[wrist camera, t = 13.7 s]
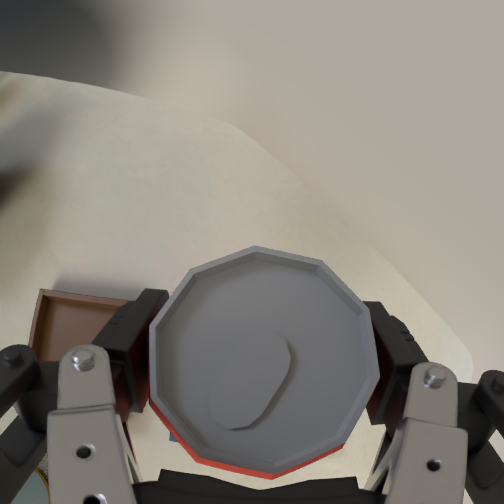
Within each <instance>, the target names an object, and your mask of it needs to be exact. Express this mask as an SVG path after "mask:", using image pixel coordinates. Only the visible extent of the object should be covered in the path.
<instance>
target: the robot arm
mask: <svg viewBox="0 0 504 504" xmlns="http://www.w3.org/2000/svg"><path fill="white" fill-rule="evenodd" d="M168 299H169V294H168V291H167V290H160V289H149V288H146V289H144V291H143V292H142V293H141V295H140V296H139V297H138V299H137V300H136V301H129V302H127V303H126V304H124V305H122V306H120V307H119V308H118V309H117V311H116V312H115V313H114V314H113V317H111V318H110V319H109V321H108V322H107V324H105V326H104V327H103V328H102V330H101V331H100V332H99V333H98V335H97V336H96V337H95V339H94V340H93V341H92V343H91V344H84V345H78V346H75V347H73V348H70V349H69V350H67V351H66V352H65V353H64V354H63V355H62V356H61V358H60V361H38V360H37V357H36V355H35V352H34V350H33V349H32V348H31V347H29V346H27V345H20V344H18V345H12V346H9V347H6V348H4V349H3V350H1V351H0V418H1V417H2V416H3V415H4V414H5V413H6V412H7V411H8V410H9V409H10V408H11V406H12V405H13V406H14V408H15V410H16V412H17V414H18V416H17V417H16V418H15V419H14V420H13V422H12V423H11V424H10V425H9V426H8V427H7V429H6V430H5V431H4V432H3V433H2V434H1V435H0V504H11V503H12V501H13V500H14V498H15V497H16V495H17V494H18V492H19V491H20V490H21V488H22V487H23V485H24V484H25V482H26V481H27V480H28V478H29V477H30V475H31V474H32V473H33V471H34V470H35V468H36V467H37V466H38V464H39V463H40V461H41V460H42V459H43V457H44V456H45V454H46V453H47V461H48V481H49V494H50V504H463V496H464V488H465V489H466V491H467V492H468V494H469V496H470V498H471V499H472V501H473V503H474V504H504V463H503V462H502V460H501V458H500V457H499V456H498V454H497V453H496V451H495V450H494V448H493V447H492V445H491V444H490V442H489V441H488V440H489V439H490V437H491V436H492V434H493V433H494V432H495V430H496V429H497V430H498V431H499V433H500V434H501V435H502V437H503V438H504V372H501V371H497V370H489V371H486V372H484V373H483V374H482V376H481V378H480V380H479V382H478V384H471V383H462V382H457V378H456V376H455V374H454V373H453V372H452V371H451V370H450V369H448V368H447V367H445V366H443V365H441V364H438V363H434V362H429V360H428V359H427V357H426V356H425V354H424V353H423V351H422V350H421V348H420V347H419V345H418V344H417V342H416V341H414V338H413V336H412V335H411V334H410V332H409V330H408V329H407V327H406V326H405V324H404V323H403V322H401V321H400V320H399V319H397V318H396V317H394V316H390V315H389V314H388V312H387V311H386V309H385V308H384V306H383V305H382V303H381V302H371V301H362V302H363V303H364V304H365V305H366V306H367V307H368V308H369V311H370V316H371V322H372V327H373V333H374V339H375V345H376V352H377V358H378V365H379V372H380V379H379V381H378V383H377V385H376V387H375V389H374V391H373V393H372V395H371V397H370V399H369V401H368V403H367V405H366V409H367V413H368V416H369V419H370V422H371V425H378V424H385V426H386V430H385V432H384V434H383V436H382V439H381V442H380V446H379V449H378V452H377V455H376V458H375V461H374V463H373V466H372V469H371V472H370V475H369V477H368V480H367V482H366V484H365V487H364V489H359V488H358V483H357V478H356V476H354V477H344V478H332V479H315V480H307V481H303V482H299V483H294V484H290V485H285V486H280V487H275V488H270V489H264V490H257V489H252V488H248V487H244V486H240V485H237V484H233V483H230V482H226V481H223V480H220V479H217V478H213V477H210V476H205V475H197V474H190V473H183V472H176V471H171V470H165V469H161V471H160V475H159V478H158V481H147V482H143V479H142V476H141V473H140V470H139V467H138V463H137V460H136V456H135V452H134V448H133V445H132V441H131V437H130V432H129V428H128V424H127V421H126V418H127V415H128V413H129V411H133V412H138V413H142V412H143V410H144V407H145V405H146V402H147V400H148V397H149V396H148V352H147V336H148V332H149V326H150V324H151V323H152V321H153V320H154V318H155V317H156V316H157V314H158V313H159V311H160V310H161V309H162V307H163V306H164V305H165V303H166V302H167V300H168Z"/></svg>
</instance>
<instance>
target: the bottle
mask: <svg viewBox="0 0 504 504" xmlns="http://www.w3.org/2000/svg"><path fill="white" fill-rule="evenodd" d="M11 504H50V494H49V486H48V483H47V482H46V480H45V478H44V477H43V475H42V474H41V473H40V472H39V471H38V469H37V468H35V470H34V471H33V473H32V474H31V475H30V477H29V478H28V480H27V481H26V482H25V484H24V485H23V487H22V488H21V490H20V491H19V492H18V494H17V495H16V497H15V498H14V500H13V501H12V503H11Z"/></svg>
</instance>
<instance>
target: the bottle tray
mask: <svg viewBox="0 0 504 504" xmlns="http://www.w3.org/2000/svg"><path fill="white" fill-rule="evenodd" d="M127 302H129V300H120V299H112V298H104V297H96V296H88V295H81V294H74V293H67V292H60V291H53V290H47V289H40V291H39V295H38V299H37V303H36V307H35V312H34V317H33V321H32V326H31V332H30V337H29V343H28V346H29V347H31V348H32V349H33V350H34V352H35V355H36V357H37V360H38V361H60V358H61V356H62V355H63V354H64V353H65V352H66V351H67V350H69V349H70V348H73V347H75V346H78V345H84V344H91V343H92V341H93V340H94V339H95V337H96V336H97V335H98V333H99V332H100V331H101V330H102V328H103V327H104V326H105V324H107V322H108V321H109V319H110V318H111V317H113V314H114V313H115V312H116V311H117V309H118V308H119V307H120V306H122V305H124V304H126V303H127ZM126 421H127V418H126Z"/></svg>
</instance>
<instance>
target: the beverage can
mask: <svg viewBox="0 0 504 504" xmlns="http://www.w3.org/2000/svg"><path fill="white" fill-rule="evenodd" d="M147 352H148V396H149V405H150V407H151V408H152V409H153V411H154V412H155V413H156V414H157V416H158V417H159V418H160V420H161V421H162V422H163V423H164V425H165V426H166V427H167V428H168V430H169V431H170V432H171V433H172V435H173V436H174V437H175V438H176V439H177V441H178V442H179V443H180V444H181V445H182V447H183V448H184V449H185V450H186V451H187V452H188V454H189V455H190V456H191V457H192V458H193V459H194V460H195V461H196V462H197V463H200V464H204V465H208V466H211V467H215V468H219V469H223V470H227V471H231V472H236V473H240V474H245V475H249V476H254V477H259V478H265V479H270V480H273V479H275V478H278V477H280V476H283V475H285V474H288V473H290V472H293V471H295V470H297V469H300V468H302V467H304V466H306V465H309V464H311V463H313V462H315V461H317V460H319V459H322V458H324V457H326V456H328V455H330V454H332V453H334V452H336V451H338V450H340V449H342V447H343V446H344V444H345V442H346V441H347V439H348V437H349V436H350V434H351V432H352V430H353V429H354V427H355V425H356V423H357V421H358V420H359V418H360V416H361V414H362V412H363V410H364V409H365V407H366V405H367V403H368V401H369V399H370V397H371V395H372V393H373V391H374V389H375V387H376V385H377V383H378V381H379V379H380V372H379V365H378V358H377V352H376V345H375V339H374V333H373V327H372V322H371V316H370V311H369V308H368V307H367V306H366V305H365V304H364V303H363V302H362V301H361V300H360V299H359V298H358V297H357V296H356V295H355V294H354V293H353V292H352V291H351V290H350V289H349V288H348V286H347V285H346V284H345V283H344V282H343V281H342V280H341V279H340V278H339V277H338V276H337V275H336V274H335V273H334V272H333V271H332V270H331V269H330V268H329V267H328V266H327V265H326V264H325V263H324V262H323V261H322V260H318V259H314V258H309V257H305V256H300V255H296V254H291V253H287V252H282V251H277V250H273V249H268V248H264V247H259V246H252V247H250V248H247V249H244V250H241V251H239V252H236V253H233V254H230V255H228V256H225V257H222V258H219V259H217V260H214V261H211V262H208V263H206V264H203V265H200V266H197V267H195V268H192V269H190V270H189V272H188V273H187V274H186V276H185V277H184V278H183V280H182V281H181V282H180V284H179V285H178V287H177V288H176V289H175V291H174V292H173V293H172V295H171V296H170V298H169V299H168V300H167V302H166V303H165V305H164V306H163V307H162V309H161V310H160V311H159V313H158V314H157V316H156V317H155V318H154V320H153V321H152V323H151V324H150V326H149V332H148V336H147Z"/></svg>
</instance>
